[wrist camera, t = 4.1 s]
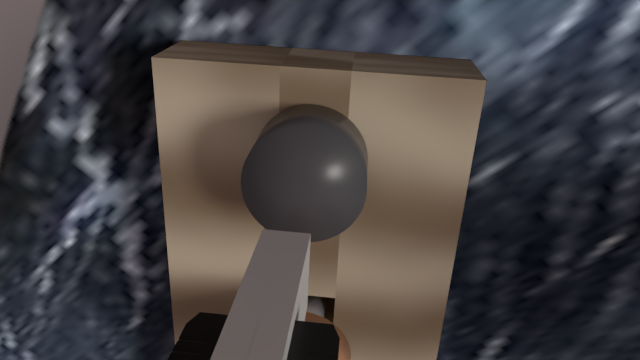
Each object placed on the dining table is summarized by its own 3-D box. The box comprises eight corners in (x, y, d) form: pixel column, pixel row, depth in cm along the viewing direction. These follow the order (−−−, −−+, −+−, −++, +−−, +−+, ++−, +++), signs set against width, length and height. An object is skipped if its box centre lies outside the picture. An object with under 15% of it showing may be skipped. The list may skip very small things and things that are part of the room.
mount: (407, 444, 36) (411, 501, 33) (204, 421, 37) (185, 474, 34) (470, 59, 26) (486, 80, 22) (182, 40, 26) (151, 57, 23)
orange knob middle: (350, 341, 30) (343, 455, 23) (261, 332, 30) (230, 442, 24) (357, 266, 28) (352, 368, 21) (262, 257, 28) (227, 355, 22)
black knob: (364, 177, 28) (361, 247, 22) (270, 170, 29) (241, 236, 22) (372, 84, 26) (372, 132, 20) (271, 77, 27) (239, 122, 20)
